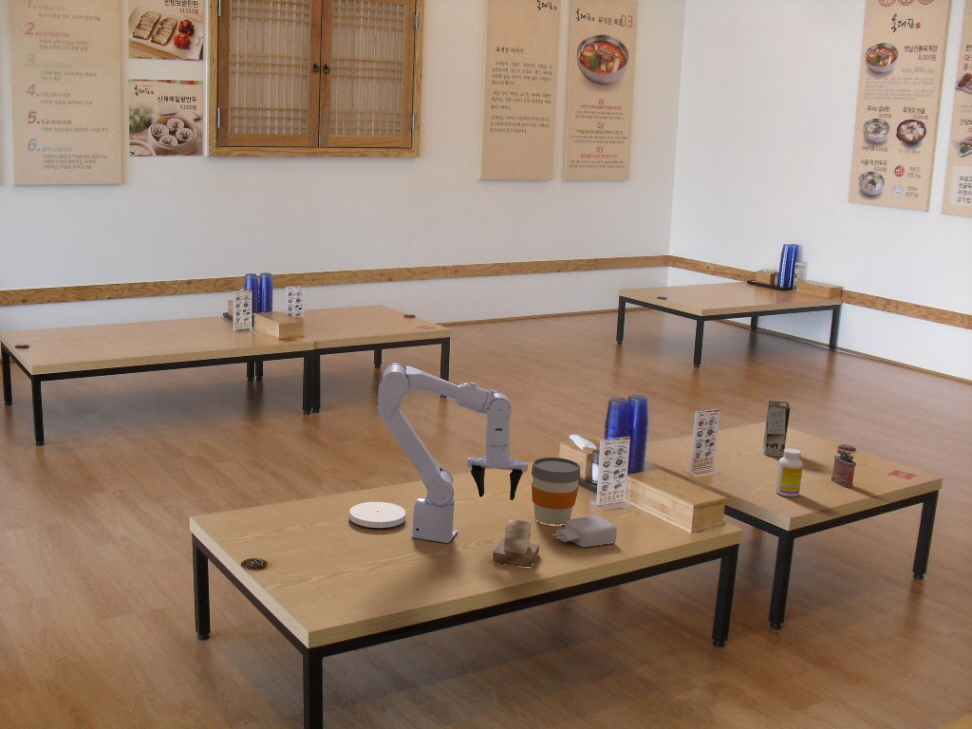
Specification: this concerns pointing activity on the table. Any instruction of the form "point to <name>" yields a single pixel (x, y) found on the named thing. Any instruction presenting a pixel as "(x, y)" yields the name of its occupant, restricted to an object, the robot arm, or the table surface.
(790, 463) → the supplement bottle
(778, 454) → the coffee box
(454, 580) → the table surface
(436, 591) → the table surface
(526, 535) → the maple block
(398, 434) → the robot arm
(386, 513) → the plastic lid
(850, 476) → the lighter
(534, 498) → the reusable coffee cup
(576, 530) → the charger
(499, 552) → the walnut slab
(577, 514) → the table surface
